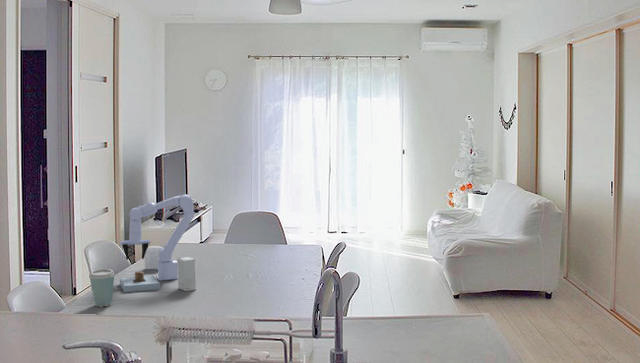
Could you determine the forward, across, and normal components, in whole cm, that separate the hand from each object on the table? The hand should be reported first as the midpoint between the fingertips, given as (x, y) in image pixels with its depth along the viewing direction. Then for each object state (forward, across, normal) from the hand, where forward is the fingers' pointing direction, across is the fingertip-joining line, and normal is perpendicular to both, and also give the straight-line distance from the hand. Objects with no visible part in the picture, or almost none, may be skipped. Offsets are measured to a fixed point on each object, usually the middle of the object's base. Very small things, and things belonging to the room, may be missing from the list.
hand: (135, 258), depth 339 cm
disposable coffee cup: (+11, +20, +43) cm, 49 cm away
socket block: (+10, 0, +16) cm, 19 cm away
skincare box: (+10, -20, +28) cm, 36 cm away
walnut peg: (+10, 0, +16) cm, 19 cm away
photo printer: (+10, -14, -21) cm, 27 cm away
